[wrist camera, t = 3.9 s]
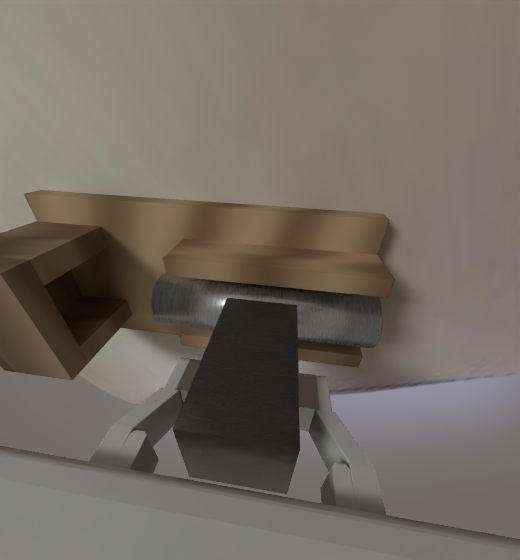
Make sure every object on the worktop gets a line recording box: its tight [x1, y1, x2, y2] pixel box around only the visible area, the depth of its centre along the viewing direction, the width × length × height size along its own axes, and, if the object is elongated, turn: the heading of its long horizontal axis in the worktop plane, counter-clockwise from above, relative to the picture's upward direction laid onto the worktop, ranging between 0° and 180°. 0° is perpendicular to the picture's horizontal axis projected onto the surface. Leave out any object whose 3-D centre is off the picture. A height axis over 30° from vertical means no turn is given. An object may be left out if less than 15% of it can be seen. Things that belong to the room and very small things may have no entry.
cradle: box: [0, 190, 395, 380], centre depth 15 cm, size 24×12×8 cm, turn 88°
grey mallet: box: [151, 273, 382, 494], centre depth 13 cm, size 14×4×11 cm, turn 88°
